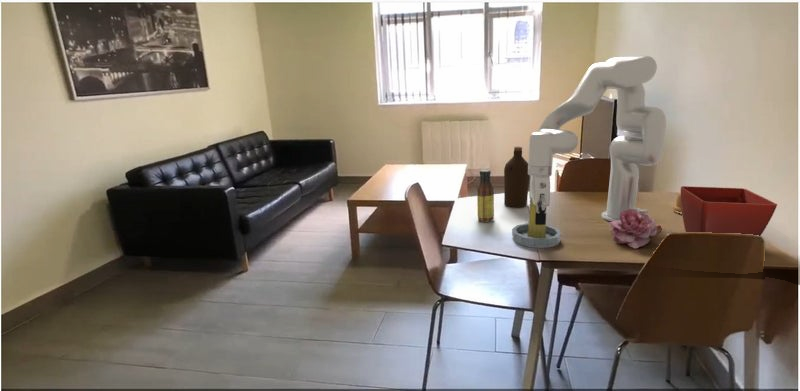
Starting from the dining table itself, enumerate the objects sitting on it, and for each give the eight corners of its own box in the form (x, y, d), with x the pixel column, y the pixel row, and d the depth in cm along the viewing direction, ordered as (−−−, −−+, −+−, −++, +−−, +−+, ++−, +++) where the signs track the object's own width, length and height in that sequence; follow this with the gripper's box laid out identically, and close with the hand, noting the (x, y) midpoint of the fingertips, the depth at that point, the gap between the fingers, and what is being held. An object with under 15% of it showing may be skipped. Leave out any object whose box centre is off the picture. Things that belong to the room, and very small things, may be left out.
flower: (599, 224, 153) (609, 200, 148) (642, 229, 152) (654, 206, 147) (611, 251, 141) (622, 227, 135) (658, 257, 140) (671, 233, 134)
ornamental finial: (670, 213, 171) (674, 208, 176) (693, 216, 166) (696, 212, 172) (673, 193, 169) (677, 189, 174) (696, 196, 164) (699, 192, 169)
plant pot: (735, 235, 147) (744, 187, 142) (767, 258, 129) (779, 204, 125) (672, 232, 151) (679, 185, 147) (695, 254, 133) (703, 201, 129)
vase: (546, 240, 146) (549, 199, 141) (527, 239, 147) (530, 199, 143) (544, 233, 151) (547, 194, 147) (526, 233, 152) (528, 194, 148)
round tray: (553, 231, 156) (553, 223, 155) (565, 248, 141) (565, 239, 140) (509, 231, 157) (509, 223, 156) (516, 247, 142) (517, 239, 141)
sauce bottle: (495, 218, 171) (497, 169, 165) (491, 223, 165) (493, 172, 160) (479, 216, 174) (480, 168, 168) (474, 221, 168) (475, 171, 163)
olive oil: (528, 209, 181) (532, 149, 174) (502, 208, 184) (504, 149, 177) (527, 201, 191) (530, 145, 184) (503, 200, 193) (505, 145, 187)
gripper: (558, 176, 134) (555, 228, 138) (545, 164, 150) (542, 211, 155) (533, 176, 134) (530, 228, 139) (523, 164, 151) (520, 211, 156)
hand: (537, 219), depth 147 cm, fingers open, 9 cm apart
